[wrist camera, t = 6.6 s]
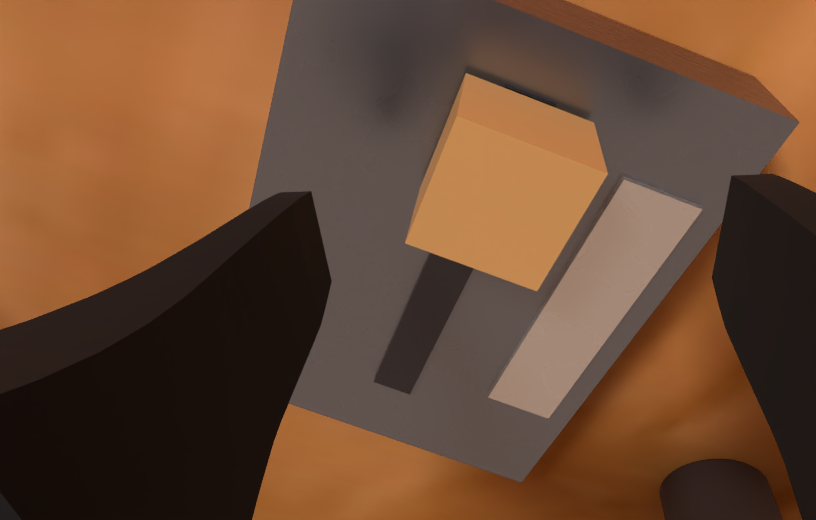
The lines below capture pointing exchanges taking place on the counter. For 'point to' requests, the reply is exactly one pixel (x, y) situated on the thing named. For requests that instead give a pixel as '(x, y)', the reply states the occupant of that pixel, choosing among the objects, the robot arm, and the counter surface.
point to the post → (718, 492)
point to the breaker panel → (467, 287)
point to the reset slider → (506, 183)
